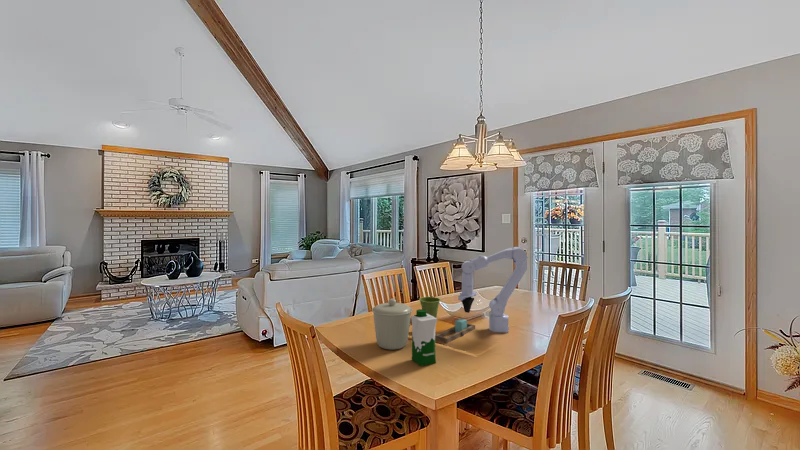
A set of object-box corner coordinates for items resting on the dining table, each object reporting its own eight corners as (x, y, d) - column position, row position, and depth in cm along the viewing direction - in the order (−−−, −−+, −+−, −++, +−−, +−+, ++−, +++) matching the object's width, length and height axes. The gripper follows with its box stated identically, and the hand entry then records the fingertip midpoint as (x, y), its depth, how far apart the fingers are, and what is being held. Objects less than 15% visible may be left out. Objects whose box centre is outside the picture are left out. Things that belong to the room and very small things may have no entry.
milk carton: (427, 355, 151) (427, 307, 150) (439, 363, 143) (439, 313, 142) (408, 359, 147) (409, 310, 146) (420, 368, 139) (420, 316, 138)
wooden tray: (461, 327, 187) (462, 322, 187) (476, 331, 182) (476, 325, 182) (433, 341, 167) (433, 334, 167) (448, 345, 162) (448, 339, 162)
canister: (366, 341, 167) (366, 296, 166) (402, 336, 174) (402, 292, 173) (380, 356, 150) (380, 305, 149) (419, 349, 157) (419, 301, 156)
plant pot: (415, 317, 205) (415, 297, 204) (433, 315, 210) (433, 295, 209) (425, 323, 194) (425, 302, 194) (444, 320, 199) (444, 300, 199)
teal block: (460, 329, 181) (460, 318, 181) (466, 331, 179) (467, 320, 179) (454, 331, 178) (455, 320, 177) (461, 333, 175) (461, 322, 175)
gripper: (467, 282, 190) (467, 307, 191) (453, 286, 179) (452, 313, 180) (479, 284, 186) (479, 310, 186) (465, 288, 175) (465, 316, 175)
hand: (467, 312), depth 183 cm, fingers closed
